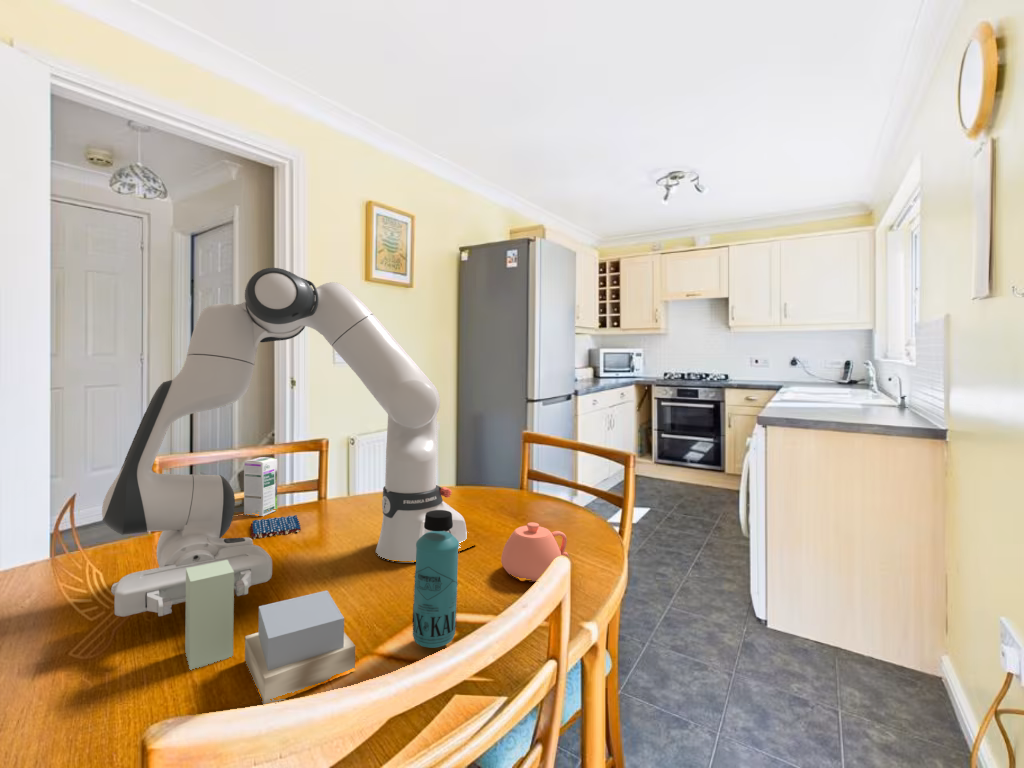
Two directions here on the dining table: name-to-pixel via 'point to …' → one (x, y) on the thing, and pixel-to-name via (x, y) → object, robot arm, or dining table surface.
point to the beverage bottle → (435, 582)
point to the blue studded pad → (274, 526)
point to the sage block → (209, 613)
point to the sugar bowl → (531, 551)
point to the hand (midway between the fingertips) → (205, 599)
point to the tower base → (295, 669)
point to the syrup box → (260, 486)
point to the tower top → (300, 629)
